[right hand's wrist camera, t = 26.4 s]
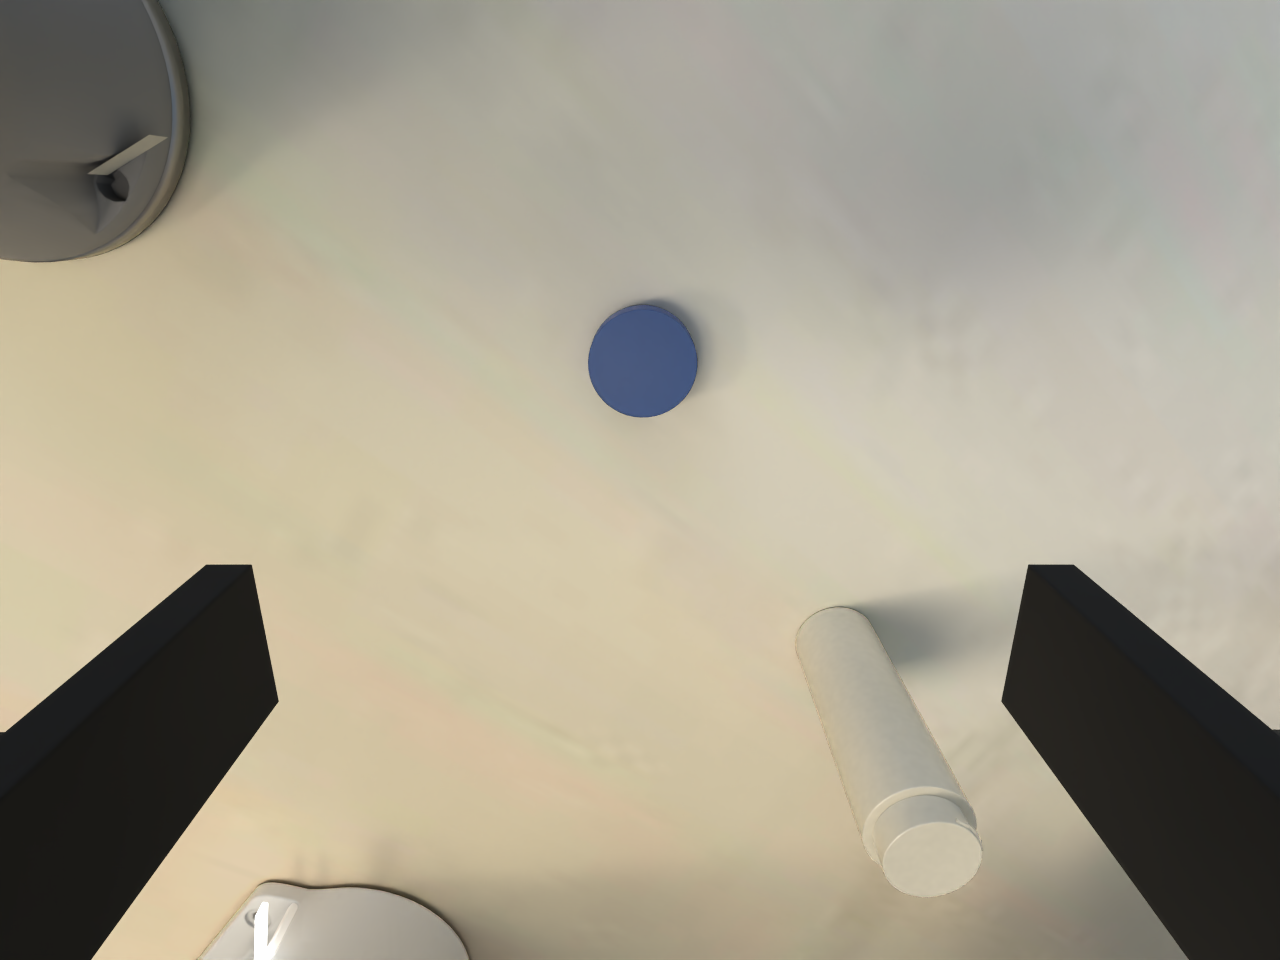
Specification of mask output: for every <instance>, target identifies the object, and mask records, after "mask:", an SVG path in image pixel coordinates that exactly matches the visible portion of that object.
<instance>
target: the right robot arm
mask: <svg viewBox="0 0 1280 960" xmlns="http://www.w3.org/2000/svg"><path fill="white" fill-rule="evenodd" d="M189 132H190V103H189V94H188V85H187V80H186V75H185V70H184V66H183V62H182V59H181V55H180V52H179V48H178V45H177V43H176V40H175V38H174V35H173V32H172V30H171V27H170V25H169V23H168V21H167V19H166V16H165V14H164V12H163V10H162V8H161V6H160V4H159V3H158V1H157V0H0V259H5V260H13V261H24V262H55V261H65V260H74V259H82V258H88V257H92V256H96V255H100V254H103V253H105V252H108V251H111V250H113V249H115V248H117V247H119V246H121V245H123V244H125V243H127V242H129V241H130V240H131V239H133V238H134V237H136V236H137V235H139V234H140V233H141V232H142V231H143V230H145V229H146V228H147V227H148V226H149V225H150V224H151V223H152V222H153V221H154V220H155V219H156V217H157V216H158V215H159V214H160V213H161V211H162V210H163V208H164V207H165V206H166V204H167V203H168V201H169V199H170V198H171V196H172V194H173V192H174V190H175V188H176V186H177V183H178V181H179V178H180V176H181V173H182V170H183V166H184V163H185V159H186V154H187V149H188V143H189ZM278 702H279V701H278V696H277V691H276V686H275V681H274V676H273V670H272V665H271V660H270V655H269V650H268V645H267V640H266V635H265V630H264V625H263V620H262V615H261V610H260V604H259V599H258V594H257V589H256V584H255V579H254V574H253V569H252V565H205V566H204V567H203V568H202V569H201V570H199V571H198V572H197V573H196V574H195V575H193V576H192V577H191V578H190V579H189V580H187V581H186V582H185V583H184V584H183V585H181V586H180V587H179V588H178V589H177V590H175V591H174V592H173V593H172V594H171V595H169V596H168V597H167V598H166V599H165V600H163V601H162V602H161V603H160V604H159V605H157V606H156V607H155V608H154V609H153V610H151V611H150V612H149V613H148V614H147V615H145V616H144V617H143V618H142V619H141V620H139V621H138V622H137V623H136V624H135V625H133V626H132V627H131V628H130V629H129V630H127V631H126V632H125V633H124V634H123V635H121V636H120V637H119V638H118V639H117V640H115V641H114V642H113V643H112V644H111V645H109V646H108V647H107V648H106V649H105V650H103V651H102V652H101V653H100V654H99V655H97V656H96V657H95V658H94V659H92V660H91V661H90V662H89V663H88V664H86V665H85V666H84V667H83V668H82V669H80V670H79V671H78V672H77V673H76V674H74V675H73V676H72V677H71V678H70V679H68V680H67V681H66V682H65V683H64V684H62V685H61V686H60V687H59V688H58V689H56V690H55V691H54V692H53V693H52V694H50V695H49V696H48V697H47V698H46V699H44V700H43V701H42V702H41V703H40V704H38V705H37V706H36V707H35V708H34V709H32V710H31V711H30V712H29V713H28V714H26V715H25V716H24V717H23V718H22V719H20V720H19V721H18V722H17V723H16V724H14V725H13V726H12V727H11V728H10V729H8V730H7V731H6V732H0V960H91V959H92V958H93V956H94V955H95V954H96V952H97V951H98V949H99V948H100V947H101V945H102V944H103V943H104V941H105V940H106V938H107V937H108V936H109V934H110V933H111V932H112V930H113V929H114V927H115V926H116V925H117V923H118V922H119V921H120V919H121V918H122V916H123V915H124V914H125V912H126V911H127V909H128V908H129V907H130V905H131V904H132V903H133V901H134V900H135V898H136V897H137V896H138V894H139V893H140V892H141V890H142V889H143V887H144V886H145V885H146V883H147V882H148V881H149V879H150V878H151V876H152V875H153V874H154V872H155V871H156V870H157V868H158V867H159V865H160V864H161V863H162V861H163V860H164V859H165V857H166V856H167V854H168V853H169V852H170V850H171V849H172V848H173V846H174V845H175V843H176V842H177V841H178V839H179V838H180V836H181V835H182V834H183V832H184V831H185V830H186V828H187V827H188V825H189V824H190V823H191V821H192V820H193V819H194V817H195V816H196V814H197V813H198V812H199V810H200V809H201V808H202V806H203V805H204V803H205V802H206V801H207V799H208V798H209V797H210V795H211V794H212V792H213V791H214V790H215V788H216V787H217V786H218V784H219V783H220V781H221V780H222V779H223V777H224V776H225V775H226V773H227V772H228V770H229V769H230V768H231V766H232V765H233V763H234V762H235V761H236V759H237V758H238V757H239V755H240V754H241V752H242V751H243V750H244V748H245V747H246V746H247V744H248V743H249V741H250V740H251V739H252V737H253V736H254V735H255V733H256V732H257V730H258V729H259V728H260V726H261V725H262V724H263V722H264V721H265V719H266V718H267V717H268V715H269V714H270V713H271V711H272V710H273V708H274V707H275V706H276V704H277V703H278ZM1001 702H1002V703H1003V704H1004V706H1005V707H1006V708H1007V710H1008V711H1009V713H1010V714H1011V715H1012V717H1013V718H1014V719H1015V721H1016V722H1017V724H1018V725H1019V726H1020V728H1021V729H1022V730H1023V732H1024V733H1025V735H1026V736H1027V737H1028V739H1029V740H1030V741H1031V743H1032V744H1033V746H1034V747H1035V748H1036V750H1037V751H1038V752H1039V754H1040V755H1041V757H1042V758H1043V759H1044V761H1045V762H1046V764H1047V765H1048V766H1049V768H1050V769H1051V770H1052V772H1053V773H1054V775H1055V776H1056V777H1057V779H1058V780H1059V781H1060V783H1061V784H1062V786H1063V787H1064V788H1065V790H1066V791H1067V792H1068V794H1069V795H1070V797H1071V798H1072V799H1073V801H1074V802H1075V803H1076V805H1077V806H1078V808H1079V809H1080V810H1081V812H1082V813H1083V814H1084V816H1085V817H1086V819H1087V820H1088V821H1089V823H1090V824H1091V825H1092V827H1093V828H1094V830H1095V831H1096V832H1097V834H1098V835H1099V836H1100V838H1101V839H1102V841H1103V842H1104V843H1105V845H1106V846H1107V848H1108V849H1109V850H1110V852H1111V853H1112V854H1113V856H1114V857H1115V859H1116V860H1117V861H1118V863H1119V864H1120V865H1121V867H1122V868H1123V870H1124V871H1125V872H1126V874H1127V875H1128V876H1129V878H1130V879H1131V881H1132V882H1133V883H1134V885H1135V886H1136V887H1137V889H1138V890H1139V892H1140V893H1141V894H1142V896H1143V897H1144V898H1145V900H1146V901H1147V903H1148V904H1149V905H1150V907H1151V908H1152V909H1153V911H1154V912H1155V914H1156V915H1157V916H1158V918H1159V919H1160V921H1161V922H1162V923H1163V925H1164V926H1165V927H1166V929H1167V930H1168V932H1169V933H1170V934H1171V936H1172V937H1173V938H1174V940H1175V941H1176V943H1177V944H1178V945H1179V947H1180V948H1181V949H1182V951H1183V952H1184V954H1185V955H1186V956H1187V958H1188V959H1189V960H1280V730H1272V729H1270V728H1269V727H1268V726H1267V725H1266V724H1264V723H1263V722H1262V721H1261V720H1260V719H1258V718H1257V717H1256V716H1255V715H1254V714H1252V713H1251V712H1250V711H1249V710H1248V709H1246V708H1245V707H1244V706H1243V705H1242V704H1240V703H1239V702H1238V701H1237V700H1236V699H1234V698H1233V697H1232V696H1231V695H1230V694H1228V693H1227V692H1226V691H1225V690H1224V689H1222V688H1221V687H1220V686H1219V685H1218V684H1216V683H1215V682H1214V681H1213V680H1212V679H1210V678H1209V677H1208V676H1207V675H1206V674H1204V673H1203V672H1202V671H1201V670H1200V669H1198V668H1197V667H1196V666H1195V665H1194V664H1192V663H1191V662H1190V661H1189V660H1187V659H1186V658H1185V657H1184V656H1183V655H1181V654H1180V653H1179V652H1178V651H1177V650H1175V649H1174V648H1173V647H1172V646H1171V645H1169V644H1168V643H1167V642H1166V641H1165V640H1163V639H1162V638H1161V637H1160V636H1159V635H1157V634H1156V633H1155V632H1154V631H1153V630H1151V629H1150V628H1149V627H1148V626H1147V625H1145V624H1144V623H1143V622H1142V621H1141V620H1139V619H1138V618H1137V617H1136V616H1135V615H1133V614H1132V613H1131V612H1130V611H1129V610H1127V609H1126V608H1125V607H1124V606H1123V605H1121V604H1120V603H1119V602H1118V601H1117V600H1115V599H1114V598H1113V597H1112V596H1111V595H1109V594H1108V593H1107V592H1106V591H1105V590H1103V589H1102V588H1101V587H1100V586H1099V585H1097V584H1096V583H1095V582H1094V581H1093V580H1091V579H1090V578H1089V577H1088V576H1087V575H1085V574H1084V573H1083V572H1082V571H1081V570H1079V569H1078V568H1077V567H1076V566H1075V565H1028V569H1027V574H1026V579H1025V584H1024V589H1023V594H1022V599H1021V604H1020V610H1019V615H1018V620H1017V625H1016V630H1015V635H1014V640H1013V645H1012V650H1011V655H1010V660H1009V665H1008V670H1007V676H1006V681H1005V686H1004V691H1003V696H1002V701H1001Z"/></svg>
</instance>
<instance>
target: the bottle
mask: <svg viewBox="0 0 1280 960" xmlns="http://www.w3.org/2000/svg"><path fill="white" fill-rule="evenodd" d="M795 647H796V653H797V656H798V659H799V661H800V664H801V667H802V670H803V673H804V676H805V679H806V682H807V684H808V687H809V690H810V693H811V696H812V699H813V702H814V705H815V707H816V710H817V713H818V716H819V719H820V722H821V725H822V727H823V730H824V733H825V736H826V739H827V742H828V745H829V748H830V750H831V753H832V756H833V759H834V762H835V765H836V768H837V771H838V773H839V776H840V779H841V782H842V785H843V788H844V791H845V793H846V796H847V799H848V802H849V805H850V808H851V811H852V814H853V816H854V819H855V822H856V825H857V828H858V831H859V834H860V837H861V839H862V842H863V845H864V848H865V850H866V852H867V854H868V855H869V856H870V858H871V859H872V860H873V861H874V862H875V863H877V864H878V865H880V866H881V867H882V870H883V872H884V875H885V877H886V879H887V880H888V882H889V883H890V884H891V885H892V886H893V887H894V888H896V889H897V890H899V891H901V892H902V893H905V894H907V895H911V896H915V897H937V896H942V895H946V894H948V893H951V892H953V891H956V890H958V889H959V888H961V887H963V886H964V885H965V884H967V883H968V882H969V881H970V880H971V879H972V878H973V877H974V875H975V874H976V872H977V871H978V869H979V867H980V864H981V861H982V851H983V847H982V840H981V838H980V837H979V835H978V833H977V831H976V827H977V823H976V816H975V813H974V811H973V808H972V806H971V805H970V803H969V801H968V799H967V797H966V796H965V794H964V792H963V790H962V788H961V786H960V785H959V783H958V781H957V779H956V777H955V776H954V774H953V772H952V770H951V768H950V766H949V765H948V763H947V761H946V759H945V757H944V756H943V754H942V752H941V750H940V748H939V746H938V745H937V743H936V741H935V739H934V737H933V736H932V734H931V732H930V730H929V728H928V726H927V725H926V723H925V721H924V719H923V717H922V716H921V714H920V712H919V710H918V708H917V706H916V705H915V703H914V701H913V699H912V697H911V696H910V694H909V692H908V690H907V688H906V686H905V685H904V683H903V681H902V679H901V677H900V676H899V674H898V672H897V670H896V668H895V666H894V665H893V663H892V661H891V659H890V657H889V656H888V654H887V652H886V650H885V648H884V646H883V645H882V643H881V641H880V639H879V637H878V636H877V634H876V632H875V630H874V628H873V626H872V625H871V623H870V622H869V620H868V619H867V618H866V617H865V616H864V615H862V614H861V613H859V612H857V611H855V610H852V609H849V608H843V607H835V608H828V609H825V610H822V611H819V612H817V613H815V614H814V615H812V616H811V617H809V618H808V619H807V620H806V621H805V622H804V623H803V625H802V626H801V628H800V629H799V631H798V634H797V637H796V642H795Z"/></svg>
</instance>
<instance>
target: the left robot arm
mask: <svg viewBox="0 0 1280 960" xmlns="http://www.w3.org/2000/svg"><path fill="white" fill-rule="evenodd" d="M197 960H469V957H468V954H467V951H466V949H465V947H464V945H463V943H462V941H461V940H460V938H459V937H458V936H457V934H456V933H455V932H454V930H453V929H452V928H451V927H450V926H449V925H448V924H447V923H446V922H445V921H444V920H442V919H441V918H440V917H439V916H437V915H436V914H435V913H433V912H432V911H430V910H429V909H427V908H425V907H424V906H422V905H420V904H418V903H416V902H414V901H412V900H409V899H407V898H405V897H402V896H399V895H396V894H393V893H389V892H385V891H381V890H375V889H368V888H357V887H341V888H329V889H306V888H302V887H297V886H293V885H288V884H282V883H274V882H269V883H263V884H261V885H259V886H258V887H257V888H256V889H255V890H254V891H253V892H252V894H251V895H250V896H249V897H248V898H247V900H246V901H245V902H244V903H243V905H242V906H241V907H240V908H239V909H238V911H237V912H236V913H235V914H234V915H233V917H232V918H231V919H230V920H229V922H228V923H227V924H226V925H225V926H224V928H223V929H222V930H221V931H220V932H219V934H218V935H217V936H216V937H215V938H214V940H213V941H212V942H211V943H210V945H209V946H208V947H207V948H206V949H205V951H204V952H203V953H202V954H201V955H200V957H199V958H198V959H197Z"/></svg>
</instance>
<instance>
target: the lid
mask: <svg viewBox="0 0 1280 960" xmlns="http://www.w3.org/2000/svg"><path fill="white" fill-rule="evenodd" d="M588 369H589V375H590V379H591V382H592V384H593V386H594V388H595V390H596V392H597V393H598V395H599V396H600V397H601V399H602V400H603V401H604V402H605V403H606V404H607V405H609V406H610V407H611V408H613V409H614V410H616V411H618V412H620V413H623V414H625V415H629V416H633V417H652V416H657V415H660V414H663V413H665V412H667V411H669V410H671V409H673V408H674V407H675V406H677V405H678V404H679V403H680V402H681V401H682V400H683V399H684V398H685V397H686V395H687V394H688V393H689V391H690V389H691V388H692V385H693V383H694V381H695V377H696V372H697V354H696V350H695V346H694V343H693V341H692V338H691V336H690V334H689V332H688V330H687V328H686V327H685V326H684V324H683V323H682V322H681V321H680V320H679V319H678V318H677V317H676V316H674V315H673V314H672V313H670V312H668V311H666V310H664V309H662V308H659V307H655V306H650V305H636V306H630V307H627V308H624V309H622V310H619V311H617V312H616V313H614V314H613V315H611V316H610V317H609V318H608V319H606V320H605V322H604V323H603V324H602V325H601V326H600V328H599V329H598V331H597V333H596V335H595V337H594V339H593V342H592V345H591V348H590V352H589V359H588Z"/></svg>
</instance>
